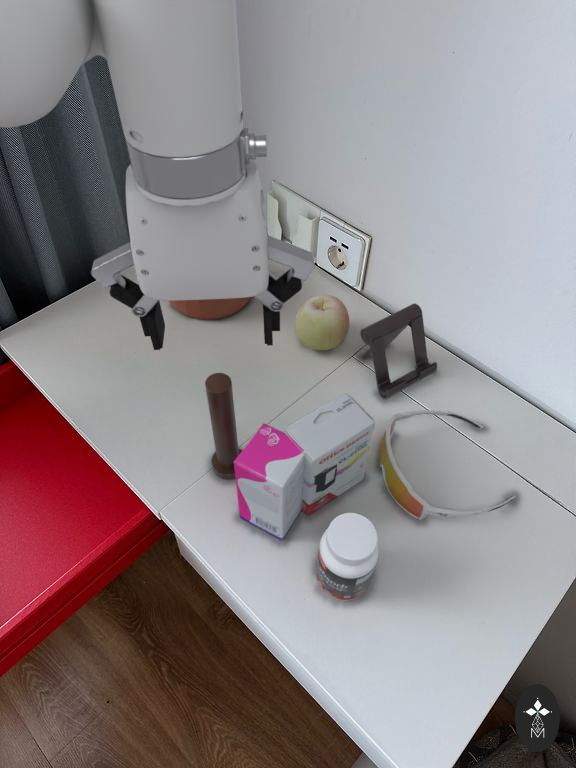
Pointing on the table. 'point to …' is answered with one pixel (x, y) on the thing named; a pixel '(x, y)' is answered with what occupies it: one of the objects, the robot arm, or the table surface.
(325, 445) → the ink box
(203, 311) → the bowl
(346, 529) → the pill bottle
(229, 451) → the cylinder
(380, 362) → the tablet stand
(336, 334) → the fruit
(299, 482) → the supplement box
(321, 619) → the table surface
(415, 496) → the sunglasses
